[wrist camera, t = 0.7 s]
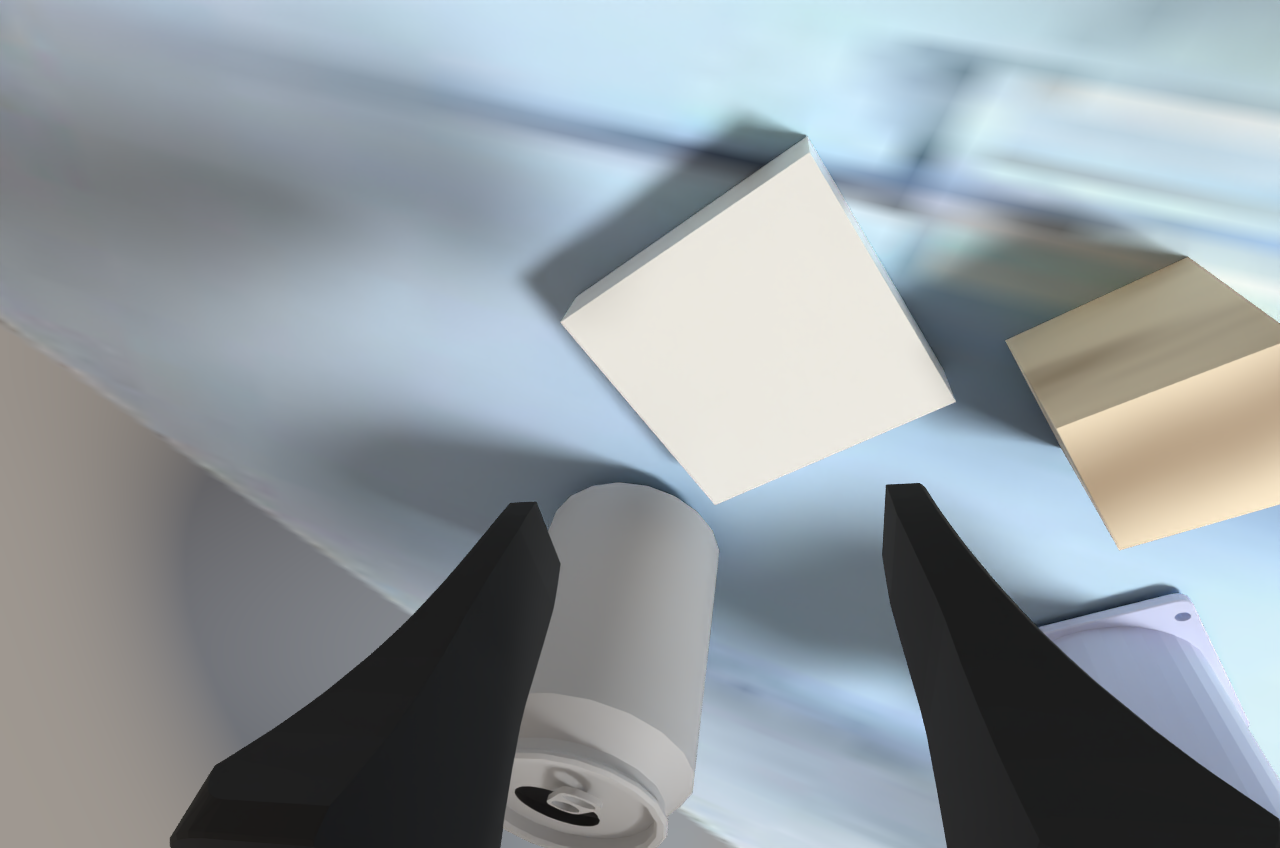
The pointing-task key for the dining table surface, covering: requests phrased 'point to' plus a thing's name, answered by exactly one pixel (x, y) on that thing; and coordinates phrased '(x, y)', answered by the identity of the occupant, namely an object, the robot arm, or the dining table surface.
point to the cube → (1162, 401)
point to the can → (617, 673)
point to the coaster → (761, 332)
